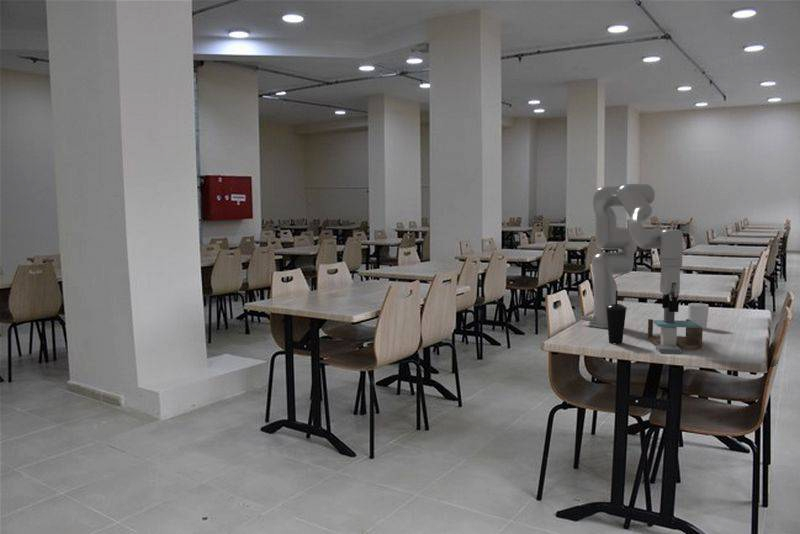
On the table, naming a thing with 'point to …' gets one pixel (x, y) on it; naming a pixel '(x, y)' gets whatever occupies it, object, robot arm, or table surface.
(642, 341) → the table surface
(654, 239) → the robot arm
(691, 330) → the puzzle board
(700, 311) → the white cup
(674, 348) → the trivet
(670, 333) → the block
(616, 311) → the drinking cup
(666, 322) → the cover
